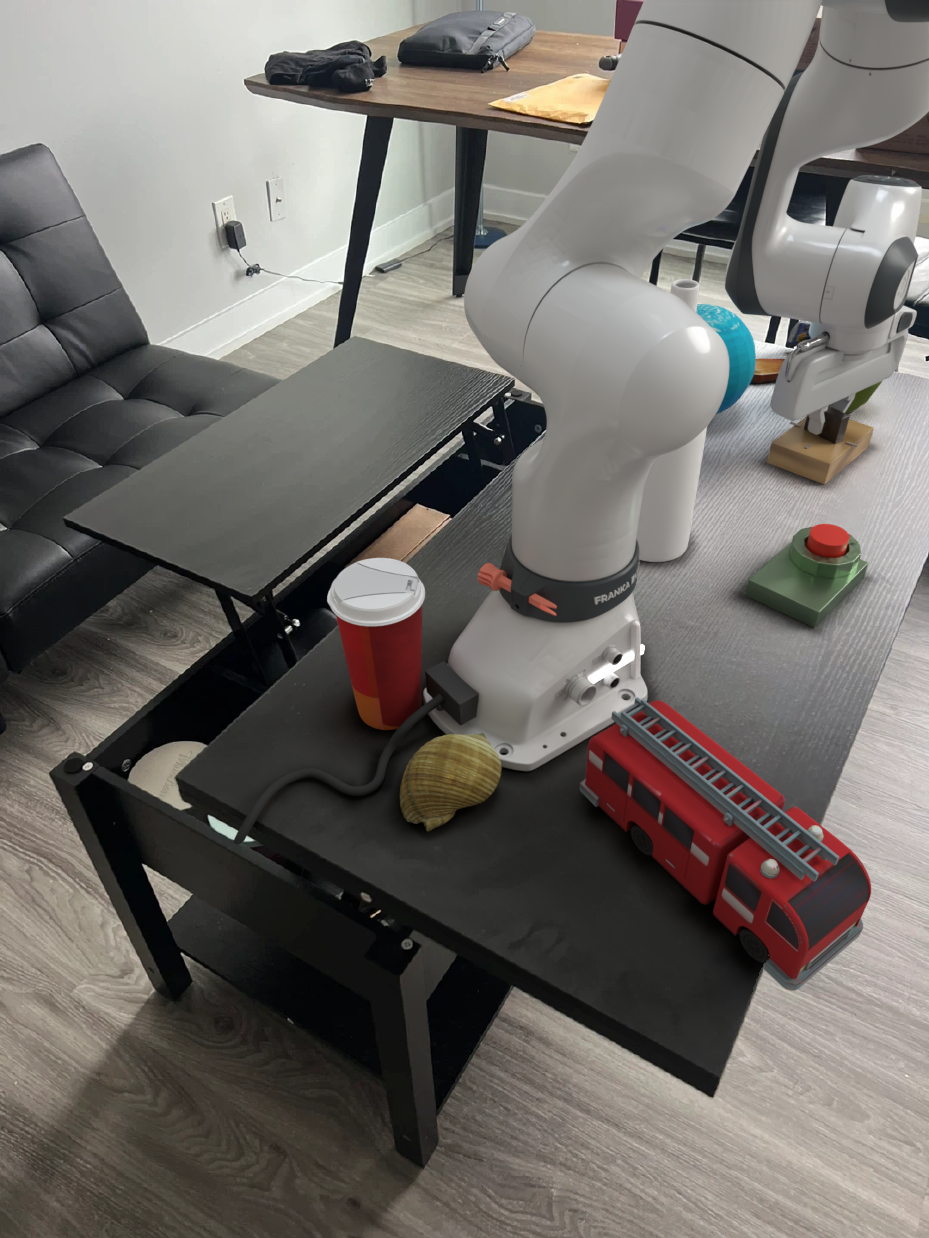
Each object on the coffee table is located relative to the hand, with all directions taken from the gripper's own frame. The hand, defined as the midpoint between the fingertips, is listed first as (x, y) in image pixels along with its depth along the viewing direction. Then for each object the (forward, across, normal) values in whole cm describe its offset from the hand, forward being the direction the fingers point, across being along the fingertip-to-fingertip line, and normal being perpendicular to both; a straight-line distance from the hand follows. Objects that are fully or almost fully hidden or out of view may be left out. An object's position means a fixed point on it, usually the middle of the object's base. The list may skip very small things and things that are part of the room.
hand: (824, 428), depth 116 cm
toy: (+4, -57, -35) cm, 67 cm away
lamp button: (0, -20, -16) cm, 26 cm away
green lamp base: (+4, -23, -17) cm, 29 cm away
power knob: (+1, 0, 0) cm, 1 cm away
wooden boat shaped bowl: (+1, +13, +19) cm, 23 cm away
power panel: (+4, 0, 0) cm, 4 cm away
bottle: (+4, -30, -1) cm, 31 cm away
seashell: (+4, -70, -17) cm, 72 cm away
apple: (+4, +13, +6) cm, 15 cm away
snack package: (+1, +24, +11) cm, 26 cm away
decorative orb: (+4, -4, +18) cm, 19 cm away
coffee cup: (+4, -69, -5) cm, 69 cm away
